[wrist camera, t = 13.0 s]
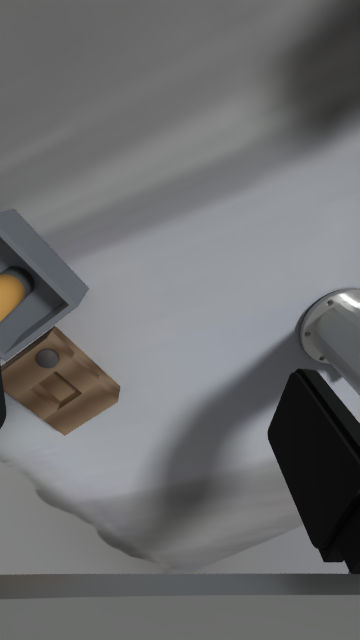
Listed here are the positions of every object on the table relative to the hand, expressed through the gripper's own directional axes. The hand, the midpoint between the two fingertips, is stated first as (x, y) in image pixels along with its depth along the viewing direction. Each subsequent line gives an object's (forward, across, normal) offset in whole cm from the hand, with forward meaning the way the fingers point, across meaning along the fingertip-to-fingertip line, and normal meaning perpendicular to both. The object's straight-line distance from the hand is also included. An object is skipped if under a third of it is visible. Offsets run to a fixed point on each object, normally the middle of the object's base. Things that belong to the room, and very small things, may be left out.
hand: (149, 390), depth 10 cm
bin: (+30, +17, +9) cm, 36 cm away
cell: (+30, +16, +9) cm, 35 cm away
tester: (+30, +11, +24) cm, 40 cm away
